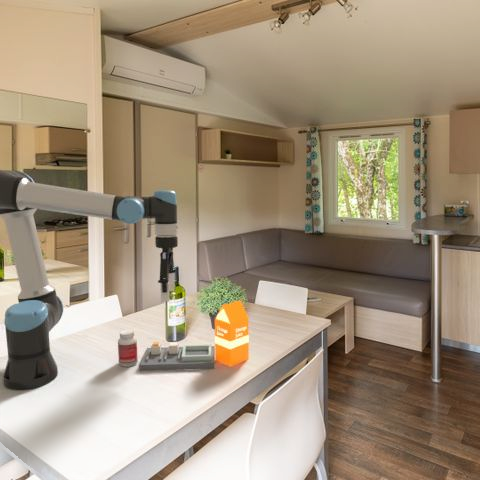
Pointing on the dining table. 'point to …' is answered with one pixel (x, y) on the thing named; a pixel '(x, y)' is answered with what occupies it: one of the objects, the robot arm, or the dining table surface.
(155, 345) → the block
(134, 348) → the pill bottle
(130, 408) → the dining table surface
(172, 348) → the toggle plain
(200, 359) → the panel
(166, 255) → the robot arm
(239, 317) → the orange juice
